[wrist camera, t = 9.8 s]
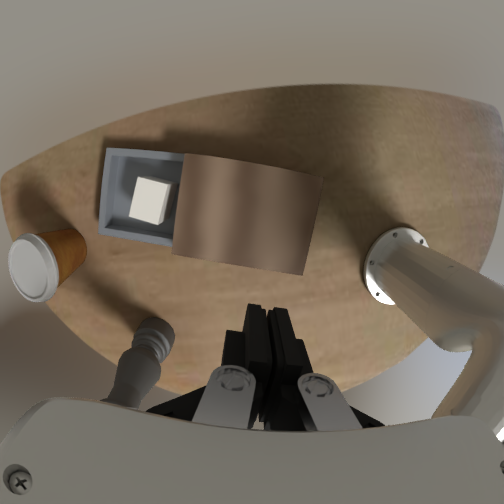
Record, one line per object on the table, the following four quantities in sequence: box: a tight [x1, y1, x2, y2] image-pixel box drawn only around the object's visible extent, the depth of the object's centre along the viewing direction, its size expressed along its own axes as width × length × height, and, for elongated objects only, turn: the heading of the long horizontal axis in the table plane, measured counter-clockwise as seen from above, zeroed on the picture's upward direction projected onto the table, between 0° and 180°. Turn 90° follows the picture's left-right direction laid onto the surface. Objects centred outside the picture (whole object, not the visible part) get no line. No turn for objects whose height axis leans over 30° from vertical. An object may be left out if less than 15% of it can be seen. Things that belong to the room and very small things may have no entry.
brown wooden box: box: [172, 153, 324, 276], centre depth 34 cm, size 16×12×6 cm
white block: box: [129, 176, 178, 225], centre depth 33 cm, size 5×5×4 cm
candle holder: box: [100, 317, 175, 410], centre depth 30 cm, size 6×6×25 cm
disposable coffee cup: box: [8, 229, 87, 302], centre depth 32 cm, size 10×10×12 cm
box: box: [98, 148, 185, 247], centre depth 35 cm, size 12×12×3 cm
